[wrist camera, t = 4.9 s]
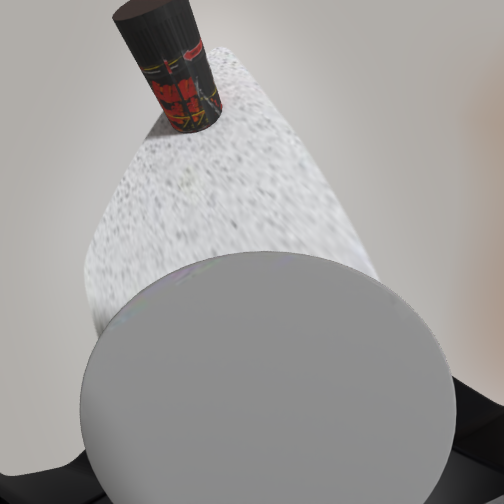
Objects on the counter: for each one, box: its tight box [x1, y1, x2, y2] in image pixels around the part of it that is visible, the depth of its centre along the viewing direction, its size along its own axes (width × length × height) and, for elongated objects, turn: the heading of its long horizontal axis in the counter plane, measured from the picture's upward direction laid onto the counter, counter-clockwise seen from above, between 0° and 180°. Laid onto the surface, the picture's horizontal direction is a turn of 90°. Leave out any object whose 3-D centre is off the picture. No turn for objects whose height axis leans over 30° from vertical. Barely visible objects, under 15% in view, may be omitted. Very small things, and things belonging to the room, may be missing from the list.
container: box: [80, 251, 456, 504], centre depth 9 cm, size 5×5×15 cm
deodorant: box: [112, 0, 222, 133], centre depth 21 cm, size 6×6×15 cm
